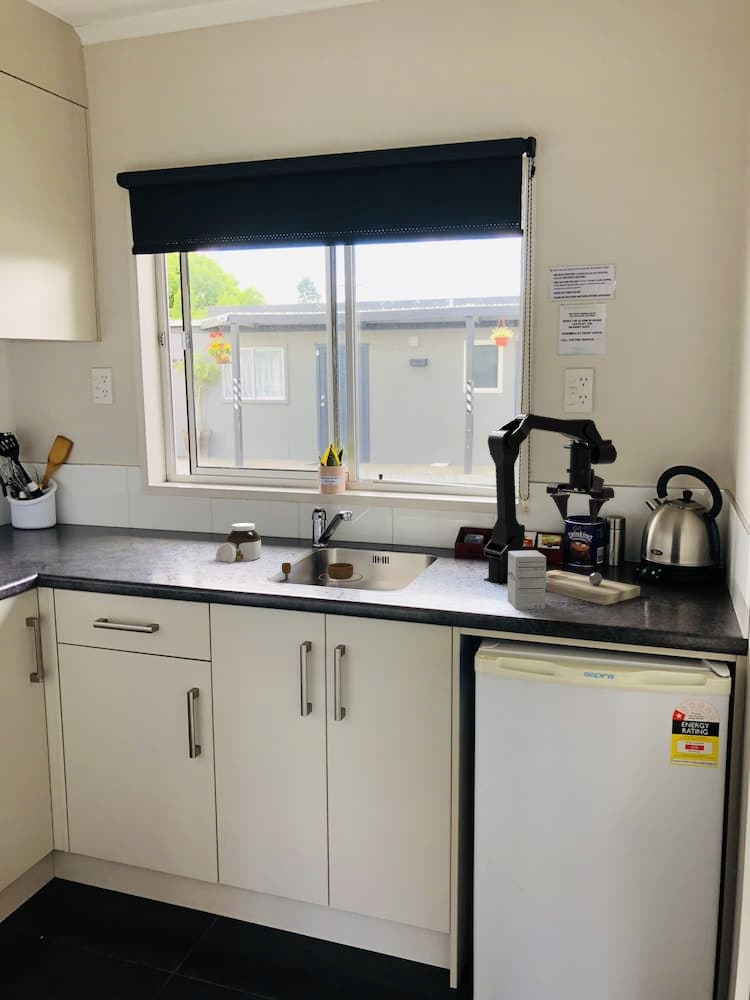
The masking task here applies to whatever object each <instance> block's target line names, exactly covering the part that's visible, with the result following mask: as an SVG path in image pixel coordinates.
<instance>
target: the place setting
mask: <svg viewBox="0 0 750 1000" xmlns="http://www.w3.org/2000/svg"><path fill="white" fill-rule="evenodd" d="M291 570H292V563H291V562H282V563H281V573H282V574H284V576H285V577H284V580H285V581H288V580H289V574H291ZM354 574H356V575H358V576H360V578H358V579H353V580H348V579H351V578H352V577H353V575H354ZM324 575H327V576H328V578H329V579H331V580H326V579H322V578H321V577H322V576H324ZM363 577H364V576H363V574H360V573H357V572H354V564H353V563H350V562H333V563H330V564H329V563H328V565H327V572H326V573H322V574H320V575H319V576H318V579H319V580H320V581H323V582H326V583H352V582H356V581H360V580H362V579H363ZM334 580H337V581H334ZM345 580H346V581H345Z"/></svg>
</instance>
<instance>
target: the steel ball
mask: <svg viewBox="0 0 750 1000" xmlns="http://www.w3.org/2000/svg"><path fill="white" fill-rule="evenodd" d="M602 579H603V576H602V574H601V573H599V572H592V573H591V574H590V575H589V581H590V583H591V584H592V585H599V584H601V582H602Z"/></svg>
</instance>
